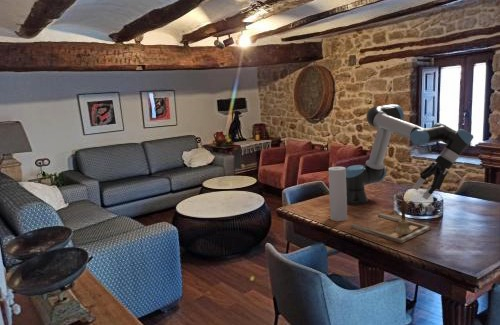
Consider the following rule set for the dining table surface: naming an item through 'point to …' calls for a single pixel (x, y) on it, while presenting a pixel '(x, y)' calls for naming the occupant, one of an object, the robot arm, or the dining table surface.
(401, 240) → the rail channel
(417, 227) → the tan wooden strip
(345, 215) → the cylinder container
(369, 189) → the dining table surface
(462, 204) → the dining table surface
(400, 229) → the hand bell
